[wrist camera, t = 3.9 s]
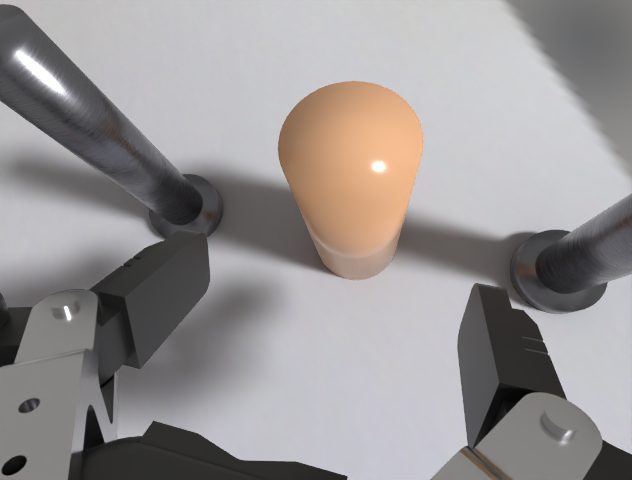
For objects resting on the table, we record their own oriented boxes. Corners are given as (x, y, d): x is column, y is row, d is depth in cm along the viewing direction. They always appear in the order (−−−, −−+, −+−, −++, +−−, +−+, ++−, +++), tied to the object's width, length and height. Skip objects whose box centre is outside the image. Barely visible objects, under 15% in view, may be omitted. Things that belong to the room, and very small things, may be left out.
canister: (308, 271, 21) (262, 196, 12) (325, 198, 22) (295, 75, 13) (389, 287, 20) (412, 219, 11) (402, 209, 21) (432, 88, 12)
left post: (149, 238, 23) (-105, 90, 10) (170, 177, 24) (-37, -21, 12) (211, 249, 22) (18, 106, 10) (230, 186, 23) (78, -14, 11)
